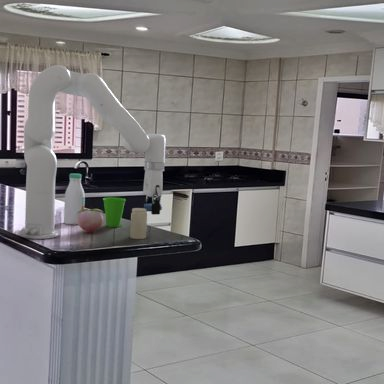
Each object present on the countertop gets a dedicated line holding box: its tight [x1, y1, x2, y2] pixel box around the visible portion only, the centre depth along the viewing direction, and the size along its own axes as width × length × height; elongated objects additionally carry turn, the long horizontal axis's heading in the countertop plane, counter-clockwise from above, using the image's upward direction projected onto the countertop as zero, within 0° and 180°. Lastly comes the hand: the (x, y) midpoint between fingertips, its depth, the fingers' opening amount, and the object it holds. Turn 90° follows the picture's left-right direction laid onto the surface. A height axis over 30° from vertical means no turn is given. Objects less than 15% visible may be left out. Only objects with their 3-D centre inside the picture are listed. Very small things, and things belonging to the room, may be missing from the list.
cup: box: [102, 197, 127, 228], centre depth 227 cm, size 9×9×11 cm
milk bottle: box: [63, 173, 86, 225], centre depth 227 cm, size 8×8×20 cm
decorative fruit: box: [77, 205, 105, 234], centre depth 211 cm, size 9×8×10 cm
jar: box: [129, 207, 148, 240], centre depth 208 cm, size 6×6×11 cm
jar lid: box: [143, 203, 163, 212], centre depth 217 cm, size 7×7×2 cm
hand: (152, 212), depth 218 cm, fingers closed on jar lid, 6 cm apart
